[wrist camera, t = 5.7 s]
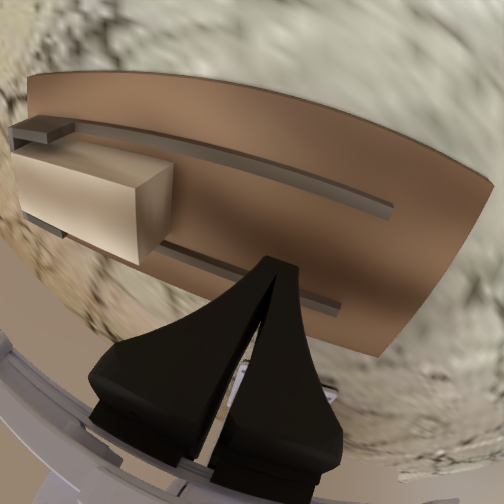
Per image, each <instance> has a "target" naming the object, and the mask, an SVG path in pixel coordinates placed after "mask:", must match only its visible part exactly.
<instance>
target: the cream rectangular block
mask: <svg viewBox="0 0 504 504" xmlns="http://www.w3.org/2000/svg"><path fill="white" fill-rule="evenodd" d="M11 157H12V164H13V170H14V175H15V181H16V186H17V191H18V195H19V200H20V204H21V208H22V210H23V211H25V212H27V213H29V214H31V215H32V216H34V217H36V218H38V219H40V220H42V221H44V222H46V223H48V224H50V225H52V226H54V227H56V228H58V229H60V230H63V231H65V232H67V233H69V234H71V235H73V236H75V237H77V238H79V239H81V240H83V241H86V242H88V243H90V244H92V245H94V246H96V247H98V248H101V249H103V250H105V251H107V252H109V253H112V254H114V255H116V256H118V257H121V258H123V259H125V260H127V261H130V262H132V263H134V264H137V265H140V264H141V263H142V262H143V261H144V260H145V259H146V258H147V257H148V255H149V254H150V253H151V252H152V251H153V250H154V249H155V248H156V247H157V246H158V245H159V244H160V243H161V242H162V241H163V240H164V239H165V238H166V236H167V235H168V234H169V233H170V231H171V204H172V185H173V170H174V163H172V162H168V161H165V160H161V159H157V158H153V157H149V156H145V155H140V154H136V153H132V152H128V151H123V150H119V149H115V148H110V147H105V146H101V145H96V144H91V143H86V142H81V141H76V140H71V139H66V138H60V139H58V140H55V141H53V142H51V143H49V144H44V143H39V142H34V141H33V142H31V143H29V144H27V145H25V146H23V147H21V148H19V149H17V150H15V151H13V152H11Z"/></svg>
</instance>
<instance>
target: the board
mask: <svg viewBox="0 0 504 504" xmlns="http://www.w3.org/2000/svg"><path fill="white" fill-rule="evenodd" d="M27 105H28V119H26V120H24V121H22V122H19V123H17V124H15V125H12V126H10V127H8V133H9V142H10V150H11V152H13V151H15V150H17V149H19V148H21V147H23V146H25V145H27V144H29V143H31V142H33V141H34V142H39V143H44V144H49V143H51V142H53V141H55V140H58V139H60V138H66V139H71V140H76V141H81V142H86V143H91V144H96V145H101V146H105V147H110V148H115V149H119V150H123V151H128V152H132V153H136V154H140V155H145V156H149V157H153V158H157V159H161V160H165V161H168V162H172V163H174V170H173V185H172V204H171V231H170V233H169V234H168V235H167V236H166V238H165V239H164V240H163V241H162V242H161V243H160V244H159V245H158V246H157V247H156V248H155V249H154V250H153V251H152V252H151V253H150V254H149V255H148V257H147V258H146V259H145V260H144V261H143V262H142V263H141V264H140V265H137V264H134V263H132V262H130V261H127V260H125V259H123V258H121V257H118V256H116V255H114V254H112V253H109V252H107V251H105V250H103V249H101V248H98V247H96V246H94V245H92V244H90V243H88V242H86V241H83V240H81V239H79V238H77V237H75V236H73V235H71V234H69V233H67V232H65V231H63V230H60V229H58V228H56V227H54V226H52V225H50V224H48V223H46V222H44V221H42V220H40V219H38V218H36V217H34V216H32V215H31V214H29V213H27V212H25V211H23V210H22V212H23V216H24V219H26V220H28V221H30V222H32V223H33V224H35V225H37V226H39V227H41V228H43V229H45V230H47V231H49V232H50V233H52V234H54V235H56V236H58V237H60V238H62V239H63V238H64V237H67V238H69V239H72V240H74V241H76V242H78V243H80V244H82V245H84V246H86V247H88V248H90V249H92V250H94V251H96V252H99V253H101V254H103V255H105V256H107V257H109V258H112V259H114V260H116V261H118V262H120V263H123V264H125V265H127V266H129V267H131V268H134V269H136V270H138V271H141V272H143V273H145V274H147V275H150V276H152V277H154V278H157V279H159V280H161V281H164V282H166V283H169V284H171V285H173V286H176V287H178V288H181V289H183V290H185V291H188V292H190V293H193V294H195V295H198V296H200V297H203V298H205V299H208V300H210V301H213V300H214V299H216V298H217V297H219V296H220V295H221V294H223V293H224V292H225V291H227V290H228V289H229V288H231V287H232V286H233V285H235V284H236V283H237V282H238V281H239V280H240V279H242V278H243V277H244V276H245V275H246V274H247V273H248V272H249V271H250V270H252V269H253V268H254V267H255V266H256V264H257V263H258V262H259V261H260V260H261V259H262V257H263V256H266V255H267V256H270V257H273V258H276V259H279V260H282V261H285V262H287V263H290V264H293V265H296V266H298V267H299V269H300V270H299V297H300V306H301V313H302V320H303V325H304V330H305V335H307V336H310V337H313V338H316V339H319V340H322V341H325V342H328V343H331V344H334V345H338V346H341V347H344V348H347V349H350V350H354V351H357V352H360V353H364V354H367V355H370V356H374V357H377V358H378V357H379V356H380V355H381V354H382V353H383V352H384V350H385V349H386V348H387V347H388V346H389V345H390V344H391V342H392V341H393V340H394V339H395V338H396V337H397V335H398V334H399V333H400V332H401V331H402V329H403V328H404V327H405V326H406V324H407V323H408V322H409V321H410V319H411V318H412V317H413V316H414V314H415V313H416V312H417V311H418V309H419V308H420V307H421V305H422V304H423V303H424V301H425V300H426V299H427V297H428V296H429V295H430V293H431V292H432V290H433V289H434V288H435V286H436V285H437V283H438V282H439V280H440V279H441V278H442V276H443V275H444V273H445V272H446V270H447V269H448V267H449V266H450V264H451V263H452V261H453V260H454V258H455V256H456V255H457V253H458V252H459V250H460V248H461V247H462V245H463V244H464V242H465V240H466V239H467V237H468V235H469V233H470V232H471V230H472V228H473V226H474V225H475V223H476V221H477V219H478V218H479V216H480V214H481V212H482V210H483V208H484V206H485V204H486V202H487V200H488V198H489V196H490V194H491V192H492V190H493V188H494V185H493V184H492V183H491V182H490V181H489V180H488V179H487V178H485V177H484V176H482V175H481V174H479V173H477V172H475V171H474V170H472V169H470V168H469V167H467V166H465V165H463V164H461V163H460V162H458V161H456V160H454V159H452V158H450V157H448V156H446V155H445V154H443V153H441V152H439V151H437V150H435V149H433V148H431V147H429V146H427V145H424V144H422V143H420V142H418V141H416V140H414V139H412V138H409V137H407V136H405V135H403V134H400V133H398V132H396V131H393V130H391V129H388V128H386V127H384V126H381V125H379V124H376V123H373V122H371V121H368V120H366V119H363V118H360V117H357V116H355V115H352V114H349V113H346V112H343V111H340V110H337V109H334V108H331V107H328V106H325V105H321V104H318V103H315V102H311V101H308V100H305V99H301V98H297V97H294V96H290V95H286V94H282V93H278V92H274V91H270V90H265V89H261V88H256V87H252V86H247V85H242V84H236V83H231V82H225V81H219V80H213V79H207V78H200V77H192V76H184V75H175V74H164V73H152V72H135V71H73V72H57V73H45V74H36V75H32V76H29V77H27Z"/></svg>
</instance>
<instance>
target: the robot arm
mask: <svg viewBox="0 0 504 504" xmlns="http://www.w3.org/2000/svg"><path fill="white" fill-rule="evenodd" d="M299 270H300V269H299V267H298V266H296V265H293V264H290V263H287V262H285V261H282V260H279V259H276V258H273V257H270V256H267V255H266V256H263V257H262V259H261V260H260V261H259V262H258V263H257V264H256V266H255V267H254V268H253V269H252V270H250V271H249V272H248V273H247V274H246V275H245V276H244V277H243V278H242V279H240V280H239V281H238V282H237V283H236V284H235V285H233V286H232V287H231V288H229V289H228V290H227V291H225V292H224V293H223V294H221V295H220V296H219V297H217V298H216V299H214V300H213V301H211V302H210V303H208V304H207V305H205V306H203V307H202V308H200V309H198V310H197V311H195V312H193V313H191V314H189V315H187V316H185V317H183V318H182V319H179V320H177V321H175V322H173V323H171V324H169V325H166V326H164V327H161V328H159V329H156V330H154V331H151V332H149V333H146V334H143V335H140V336H137V337H133V338H130V339H127V340H123V341H120V342H116V343H115V344H114V345H113V346H112V347H111V348H110V349H109V350H108V351H107V352H106V353H105V354H104V355H103V356H102V357H101V358H100V360H99V361H98V362H97V364H96V365H95V366H94V368H93V369H92V371H91V372H90V373H89V375H88V380H89V383H90V385H91V387H92V388H93V390H94V392H95V393H96V395H97V396H98V398H99V399H100V400H99V402H98V404H97V405H96V406H95V408H94V409H92V408H90V407H89V406H87V405H86V404H84V403H83V402H82V401H80V400H79V399H77V398H76V397H74V396H73V395H72V394H70V393H69V392H67V391H66V390H65V389H63V388H62V387H61V386H59V385H58V384H57V383H55V382H54V381H53V380H51V379H50V378H49V377H48V376H46V375H45V374H44V373H43V372H41V371H40V370H39V369H38V368H37V367H35V366H34V365H33V364H32V363H31V362H29V361H28V360H27V359H26V358H25V357H24V356H23V355H22V354H20V353H19V352H18V351H17V350H16V349H15V348H14V347H13V345H12V343H11V342H10V341H9V339H8V338H7V336H6V335H5V334H4V333H3V332H2V330H1V329H0V418H1V420H2V421H3V422H4V423H5V424H6V425H7V426H8V428H9V429H10V430H11V431H12V432H13V433H14V434H15V435H16V436H17V437H18V438H19V439H20V441H21V442H22V443H24V445H25V446H26V447H27V448H28V449H30V451H32V452H33V453H34V454H35V455H36V456H37V457H38V458H39V459H40V460H41V461H42V462H43V463H44V464H45V465H46V466H48V467H49V468H50V469H51V471H50V473H49V474H48V476H47V478H46V479H45V481H44V483H43V484H42V486H41V488H40V489H39V491H38V493H37V495H36V497H35V498H34V500H33V502H32V503H31V504H367V503H355V502H346V501H337V500H330V499H324V498H318V497H312V496H313V492H314V489H315V485H318V484H319V482H320V479H321V475H322V474H323V473H325V472H328V471H330V470H333V469H334V468H336V467H337V466H339V465H340V462H341V458H342V452H343V429H342V427H341V426H340V424H339V422H338V420H337V418H336V416H335V414H334V412H333V410H332V408H331V406H330V403H331V402H333V401H334V400H335V399H336V398H337V395H338V392H337V391H336V390H333V389H329V388H326V387H322V386H321V383H320V380H319V378H318V375H317V372H316V370H315V367H314V364H313V361H312V358H311V354H310V351H309V347H308V343H307V339H306V335H305V330H304V325H303V320H302V313H301V306H300V297H299ZM260 322H261V323H260ZM259 324H260V327H259V330H258V334H257V337H256V341H255V345H254V348H253V352H252V355H251V359H250V362H242V363H241V365H240V367H239V370H238V373H237V376H236V379H235V382H234V385H233V388H232V391H231V394H230V397H229V400H228V403H227V406H228V407H229V409H228V412H227V414H226V417H225V419H224V421H223V424H222V426H221V429H220V431H219V433H218V436H217V438H216V440H215V442H214V445H213V447H212V449H211V451H210V454H209V456H208V458H207V461H206V463H205V465H204V466H203V465H200V464H198V463H195V462H193V461H194V459H197V458H198V456H199V454H200V452H201V449H202V447H203V444H204V442H205V440H206V437H207V435H208V433H209V431H210V428H211V426H212V424H213V421H214V419H215V417H216V414H217V412H218V410H219V407H220V405H221V403H222V400H223V398H224V395H225V393H226V391H227V388H228V386H229V384H230V381H231V379H232V376H233V374H234V372H235V370H236V368H237V366H238V363H239V362H240V360H241V358H242V356H243V354H244V352H245V350H246V348H247V347H248V345H249V343H250V341H251V339H252V337H253V335H254V333H255V331H256V329H257V327H258V325H259ZM85 427H87V428H88V429H90V430H91V431H93V432H94V433H96V434H97V435H99V436H101V437H102V438H104V439H106V440H107V441H109V442H110V443H112V444H114V445H116V446H117V447H119V448H121V449H122V450H124V451H126V452H128V453H130V454H131V455H133V456H135V457H137V458H139V459H141V460H143V461H145V462H146V463H148V464H151V465H153V466H155V467H157V468H159V469H161V470H163V471H165V472H167V473H169V474H172V475H174V476H176V477H179V478H177V479H176V480H174V481H173V482H172V483H171V484H170V485H169V487H168V488H167V490H166V491H163V490H161V489H159V488H157V487H155V486H153V485H151V484H149V483H146V482H144V481H142V480H140V479H139V478H137V477H135V476H133V475H131V474H129V473H127V472H125V471H123V470H122V469H120V466H121V464H122V462H123V458H121V457H120V456H119V455H117V454H116V453H114V452H113V451H112V450H111V449H110V448H109V446H107V445H106V444H104V443H103V442H101V441H100V440H99V439H97V438H96V437H94V436H93V435H91V434H90V433H89V432H87V431H86V428H85ZM424 504H459V499H458V498H457V499H445V500H436V501H430V502H426V503H424Z"/></svg>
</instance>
